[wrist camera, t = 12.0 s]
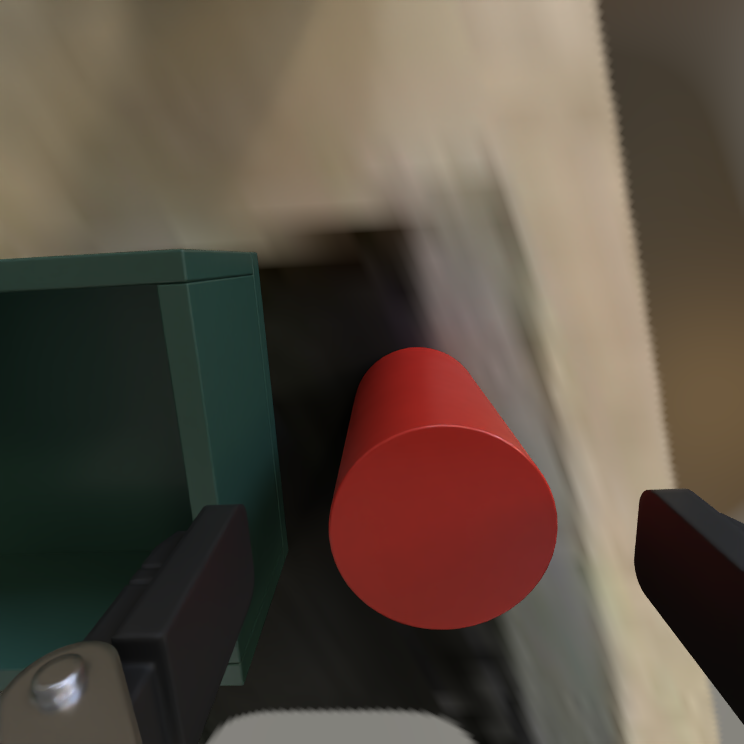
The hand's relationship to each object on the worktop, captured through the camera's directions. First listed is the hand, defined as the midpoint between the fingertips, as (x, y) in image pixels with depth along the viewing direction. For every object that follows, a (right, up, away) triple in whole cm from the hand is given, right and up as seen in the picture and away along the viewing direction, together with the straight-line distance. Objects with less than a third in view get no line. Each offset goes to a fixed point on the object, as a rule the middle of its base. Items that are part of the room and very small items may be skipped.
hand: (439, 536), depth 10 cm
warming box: (-13, +1, +10) cm, 16 cm away
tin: (0, +2, +9) cm, 10 cm away
